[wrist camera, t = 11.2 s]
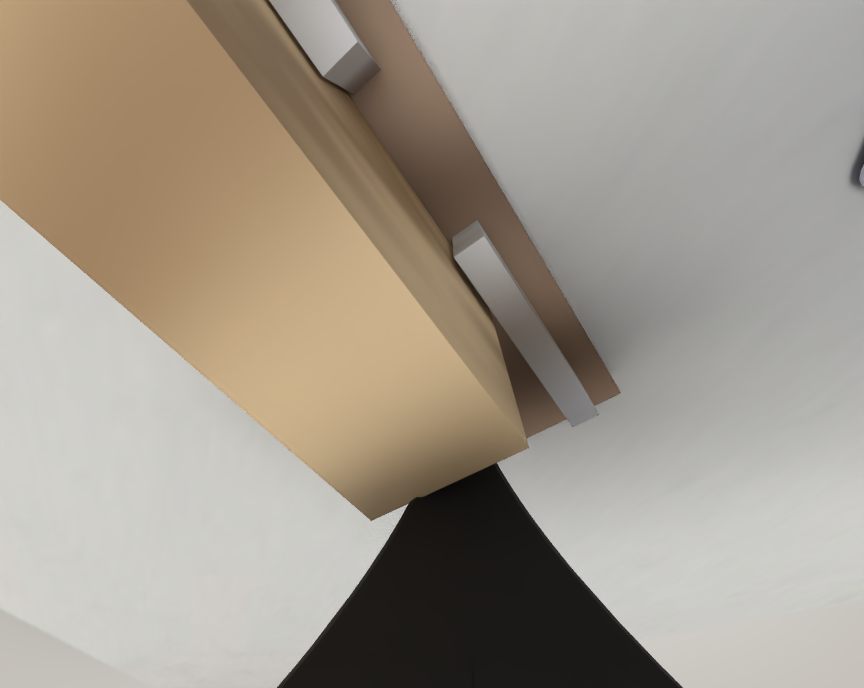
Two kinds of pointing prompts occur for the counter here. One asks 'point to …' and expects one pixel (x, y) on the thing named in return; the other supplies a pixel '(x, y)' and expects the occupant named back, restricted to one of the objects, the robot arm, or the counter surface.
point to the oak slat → (255, 234)
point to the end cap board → (458, 202)
